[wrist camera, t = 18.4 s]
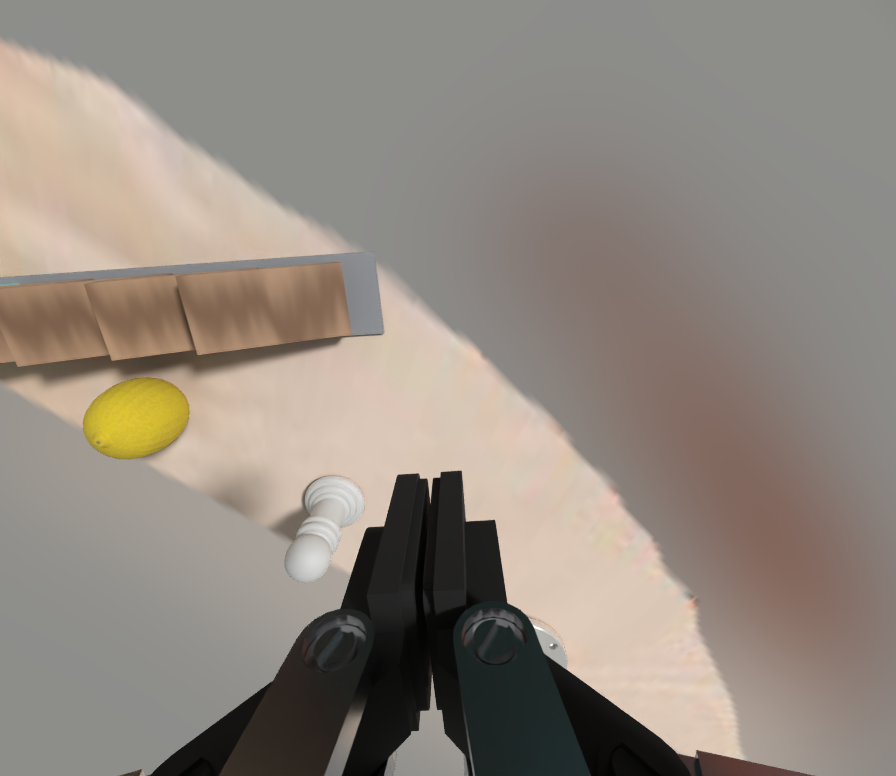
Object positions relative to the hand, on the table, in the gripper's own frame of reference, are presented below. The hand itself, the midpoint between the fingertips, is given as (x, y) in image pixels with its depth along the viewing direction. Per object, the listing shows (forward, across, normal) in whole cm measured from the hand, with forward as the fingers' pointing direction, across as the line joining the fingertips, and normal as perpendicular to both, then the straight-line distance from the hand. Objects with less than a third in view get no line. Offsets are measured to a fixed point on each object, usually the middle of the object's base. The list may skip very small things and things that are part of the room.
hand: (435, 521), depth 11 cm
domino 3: (+21, +7, -4) cm, 23 cm away
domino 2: (+21, +13, -4) cm, 25 cm away
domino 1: (+21, +20, -4) cm, 29 cm away
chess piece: (+23, +11, +14) cm, 29 cm away
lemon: (+23, +23, +3) cm, 33 cm away
